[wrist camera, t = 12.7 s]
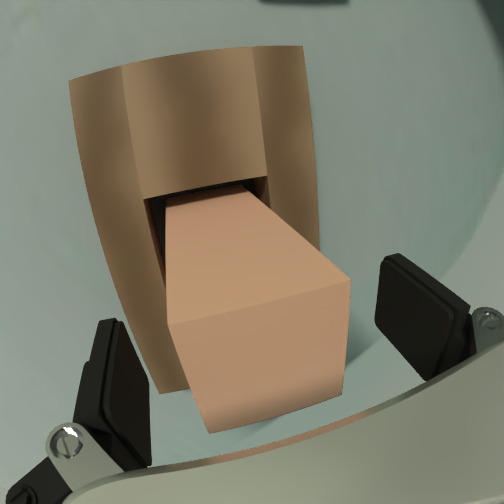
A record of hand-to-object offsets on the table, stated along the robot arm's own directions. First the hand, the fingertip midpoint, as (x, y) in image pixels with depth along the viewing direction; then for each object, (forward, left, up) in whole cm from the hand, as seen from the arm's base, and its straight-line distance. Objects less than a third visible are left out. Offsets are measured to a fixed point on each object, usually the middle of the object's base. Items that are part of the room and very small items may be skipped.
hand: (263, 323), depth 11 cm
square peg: (0, 0, -12) cm, 12 cm away
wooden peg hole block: (0, 0, -12) cm, 12 cm away
